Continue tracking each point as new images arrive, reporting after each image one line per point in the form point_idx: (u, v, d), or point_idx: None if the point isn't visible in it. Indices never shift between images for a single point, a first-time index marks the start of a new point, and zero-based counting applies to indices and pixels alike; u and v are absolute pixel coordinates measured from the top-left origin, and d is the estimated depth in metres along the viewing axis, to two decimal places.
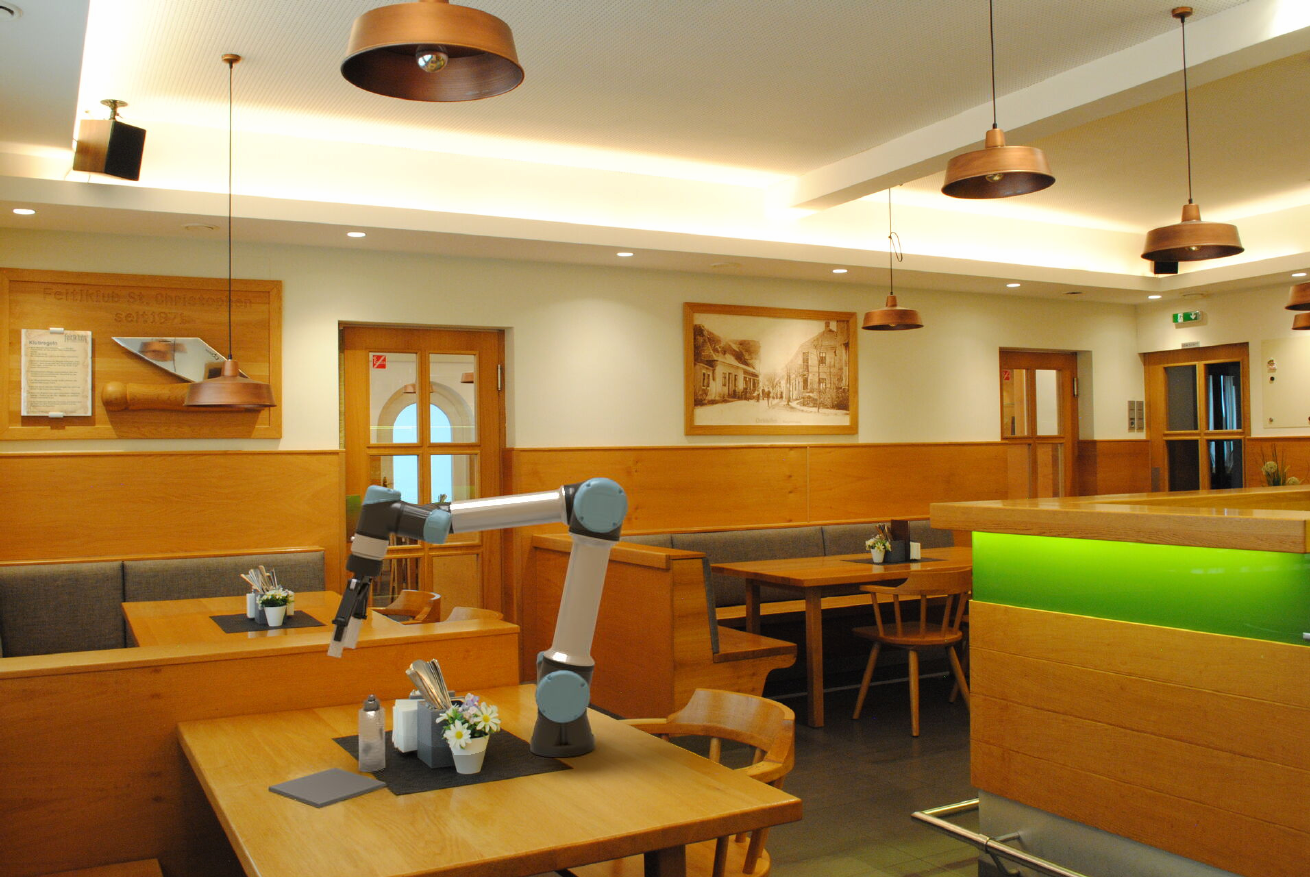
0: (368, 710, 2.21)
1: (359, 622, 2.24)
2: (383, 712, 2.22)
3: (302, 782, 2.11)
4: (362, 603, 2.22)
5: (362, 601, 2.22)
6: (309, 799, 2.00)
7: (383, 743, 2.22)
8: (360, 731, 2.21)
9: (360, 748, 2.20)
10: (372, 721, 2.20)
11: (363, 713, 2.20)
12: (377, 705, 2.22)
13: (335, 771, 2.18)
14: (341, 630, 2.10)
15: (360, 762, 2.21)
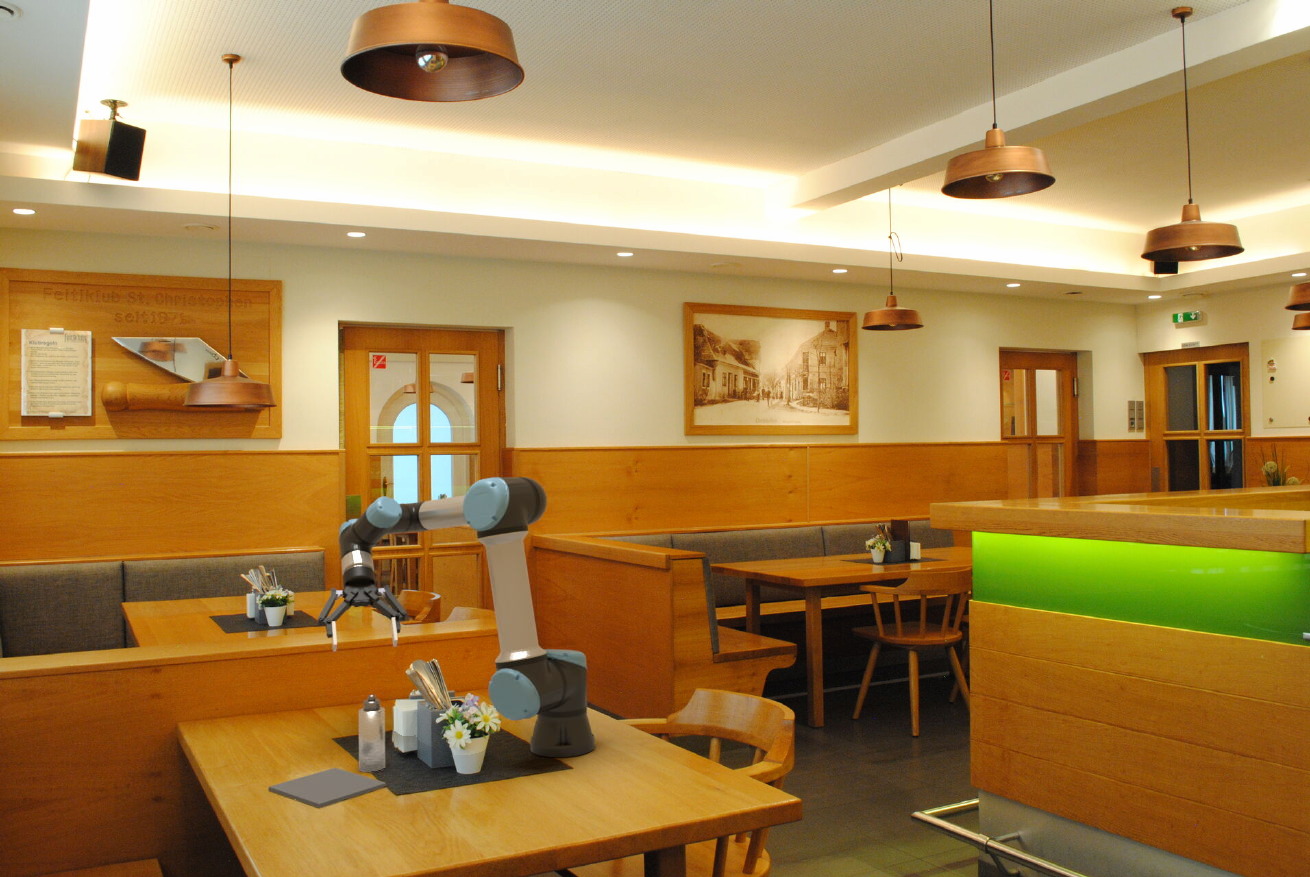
0: (368, 710, 2.21)
1: (391, 620, 2.38)
2: (383, 712, 2.22)
3: (302, 782, 2.11)
4: (380, 605, 2.41)
5: (378, 604, 2.41)
6: (309, 799, 2.00)
7: (383, 743, 2.22)
8: (360, 731, 2.21)
9: (360, 748, 2.20)
10: (372, 721, 2.20)
11: (363, 713, 2.20)
12: (377, 705, 2.22)
13: (335, 771, 2.18)
14: (326, 626, 2.33)
15: (360, 762, 2.21)
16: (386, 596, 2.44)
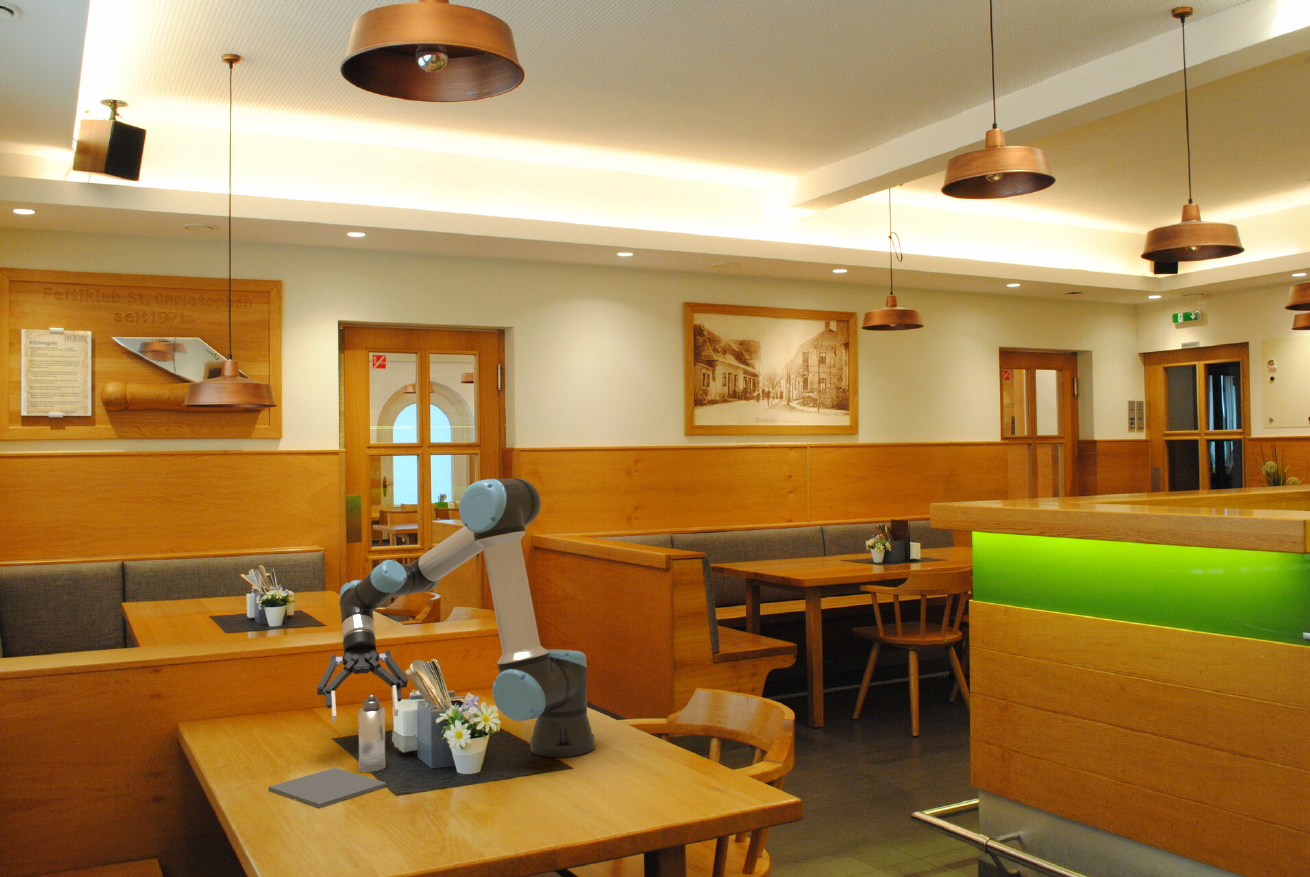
0: (368, 710, 2.21)
1: (392, 688, 2.33)
2: (383, 712, 2.22)
3: (302, 782, 2.11)
4: (381, 672, 2.35)
5: (379, 671, 2.35)
6: (309, 799, 2.00)
7: (383, 743, 2.22)
8: (360, 731, 2.21)
9: (360, 748, 2.20)
10: (372, 721, 2.20)
11: (363, 713, 2.20)
12: (377, 705, 2.22)
13: (335, 771, 2.18)
14: (326, 696, 2.27)
15: (360, 762, 2.21)
16: (387, 662, 2.38)
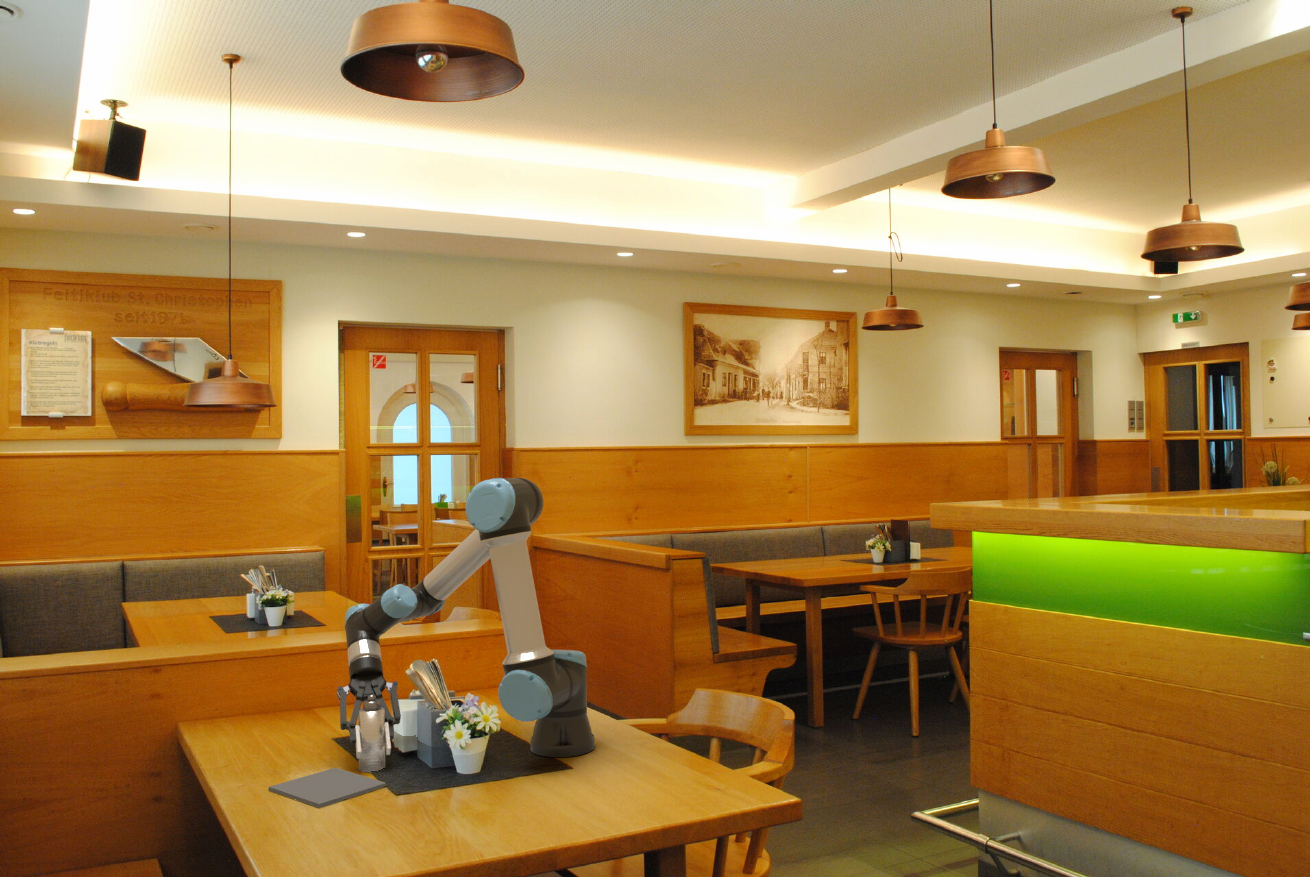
0: (368, 710, 2.21)
1: None
2: (383, 712, 2.22)
3: (302, 782, 2.11)
4: None
5: None
6: (309, 799, 2.00)
7: (383, 743, 2.22)
8: (360, 731, 2.21)
9: None
10: (372, 721, 2.20)
11: (363, 713, 2.20)
12: (377, 705, 2.22)
13: (335, 771, 2.18)
14: (350, 731, 2.21)
15: (360, 762, 2.21)
16: None
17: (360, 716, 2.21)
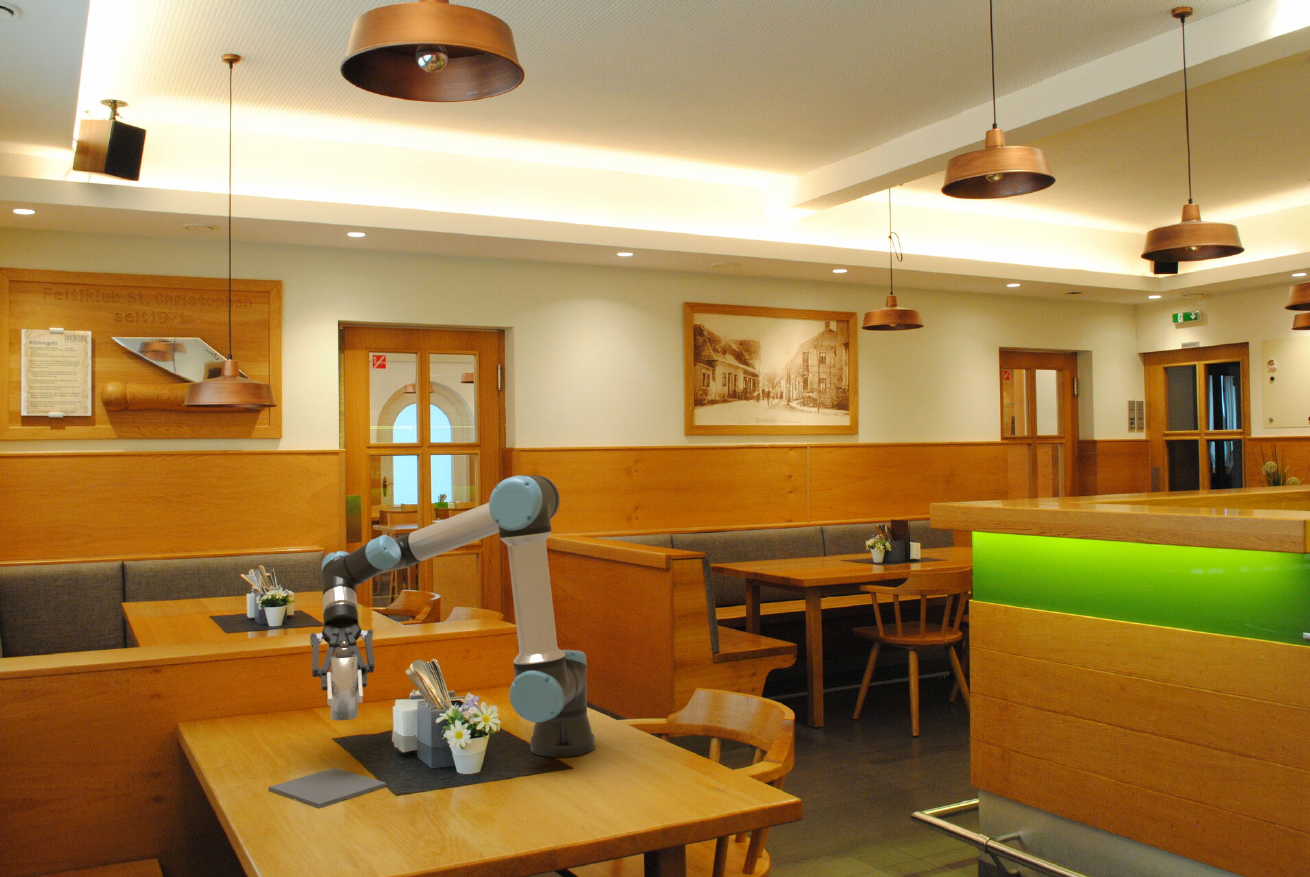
0: (340, 657, 2.15)
1: None
2: (356, 659, 2.16)
3: (302, 782, 2.11)
4: (353, 651, 2.21)
5: None
6: (309, 799, 2.00)
7: (355, 691, 2.16)
8: (332, 678, 2.14)
9: (332, 695, 2.14)
10: (343, 668, 2.14)
11: (335, 659, 2.14)
12: (350, 652, 2.15)
13: (335, 771, 2.18)
14: None
15: (332, 710, 2.14)
16: (365, 641, 2.24)
17: (332, 663, 2.14)
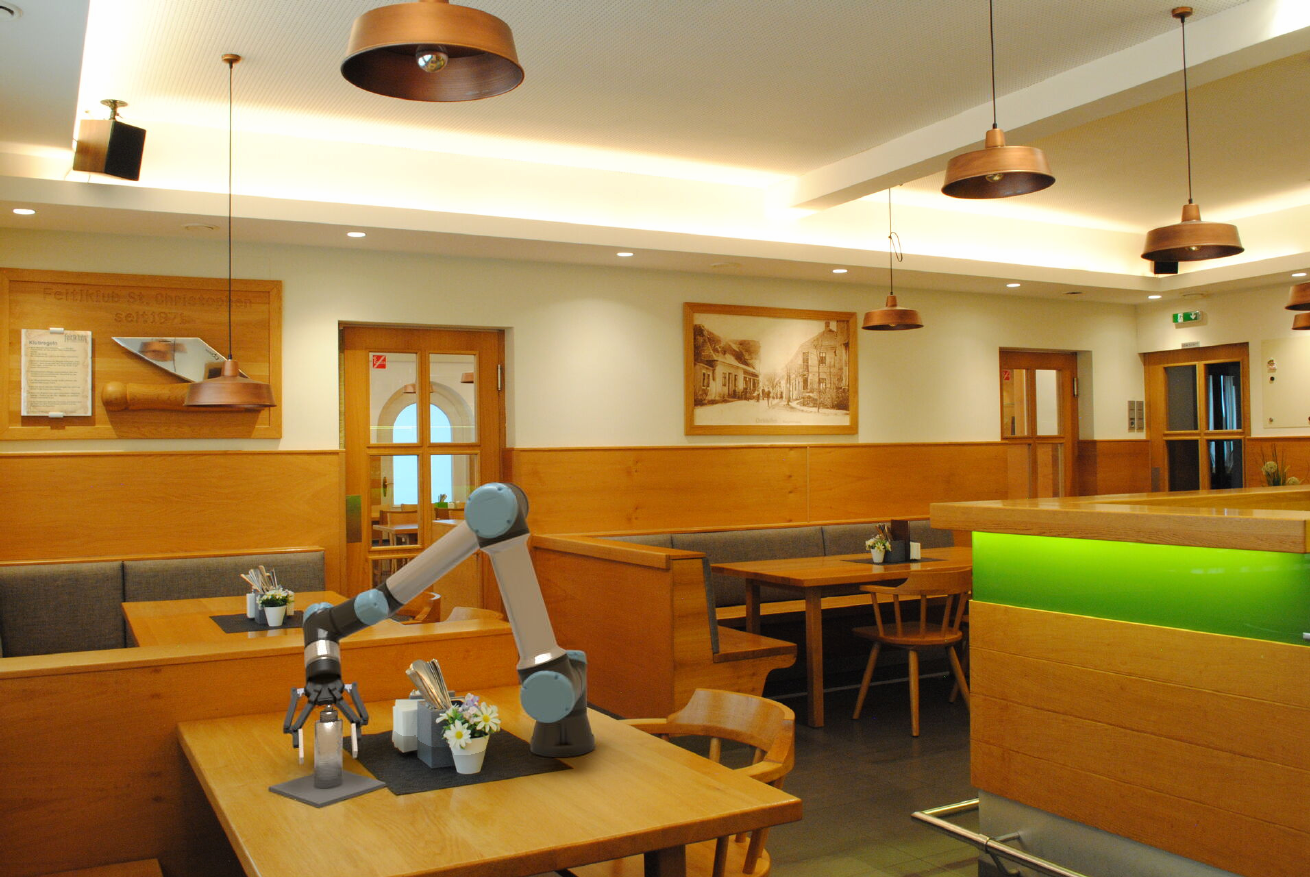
0: (324, 721, 2.08)
1: (351, 727, 2.11)
2: (341, 724, 2.09)
3: (302, 782, 2.11)
4: (342, 706, 2.14)
5: (340, 704, 2.15)
6: (309, 799, 2.00)
7: (340, 757, 2.09)
8: (316, 744, 2.08)
9: (316, 761, 2.07)
10: (328, 733, 2.07)
11: (319, 724, 2.07)
12: (334, 716, 2.09)
13: None
14: (292, 735, 2.07)
15: (315, 777, 2.07)
16: (352, 695, 2.18)
17: (316, 728, 2.08)
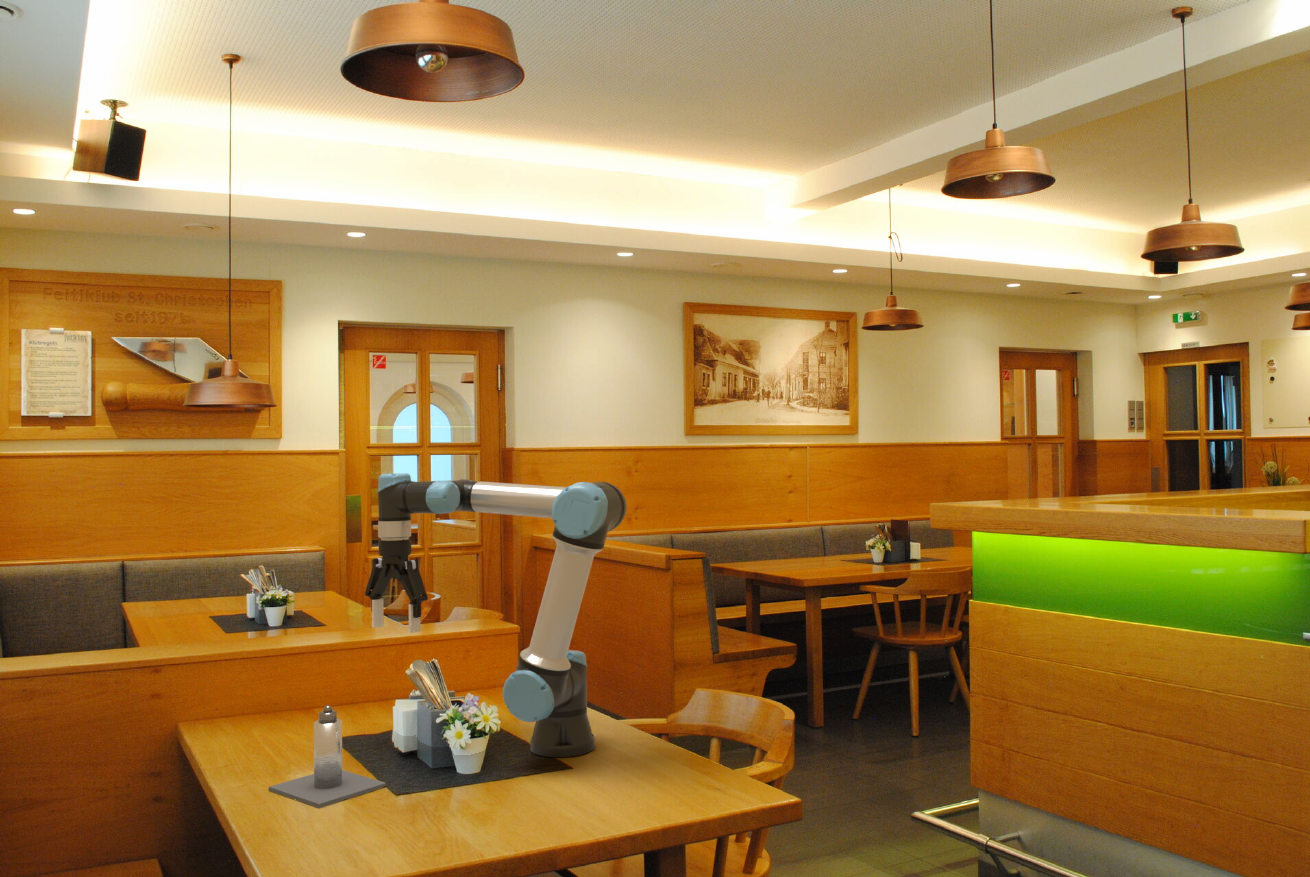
0: (323, 722, 2.08)
1: None
2: (340, 724, 2.09)
3: (302, 782, 2.11)
4: None
5: None
6: (309, 799, 2.00)
7: (340, 757, 2.09)
8: (315, 744, 2.07)
9: (315, 762, 2.07)
10: (327, 734, 2.07)
11: (318, 725, 2.07)
12: (333, 717, 2.09)
13: None
14: None
15: (315, 778, 2.07)
16: None
17: (315, 729, 2.07)
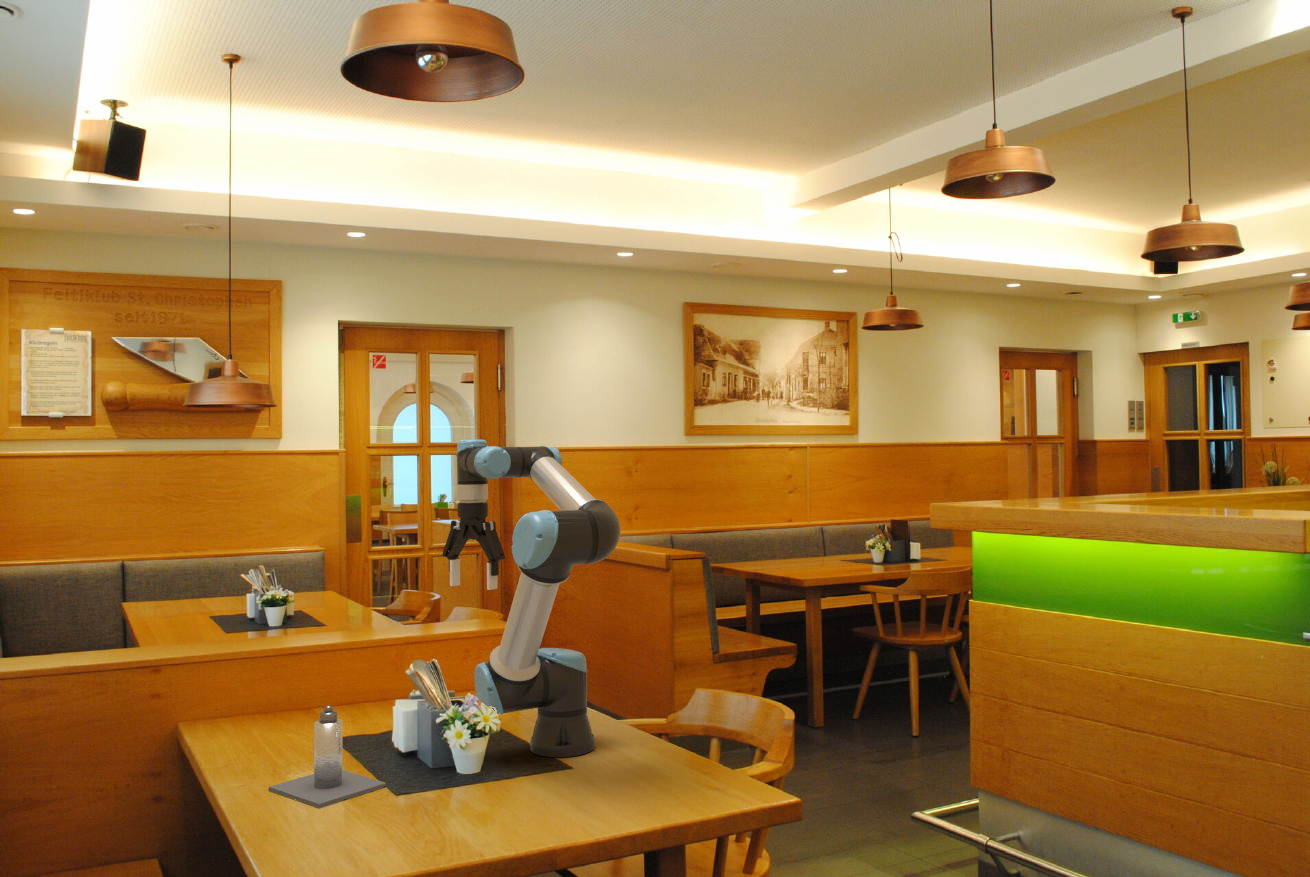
0: (324, 722, 2.08)
1: None
2: (340, 724, 2.09)
3: (302, 782, 2.11)
4: None
5: None
6: (309, 799, 2.00)
7: (340, 757, 2.09)
8: (315, 744, 2.07)
9: (315, 762, 2.07)
10: (327, 734, 2.07)
11: (318, 725, 2.07)
12: (334, 717, 2.09)
13: None
14: None
15: (315, 777, 2.07)
16: None
17: (315, 728, 2.07)
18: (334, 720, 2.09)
